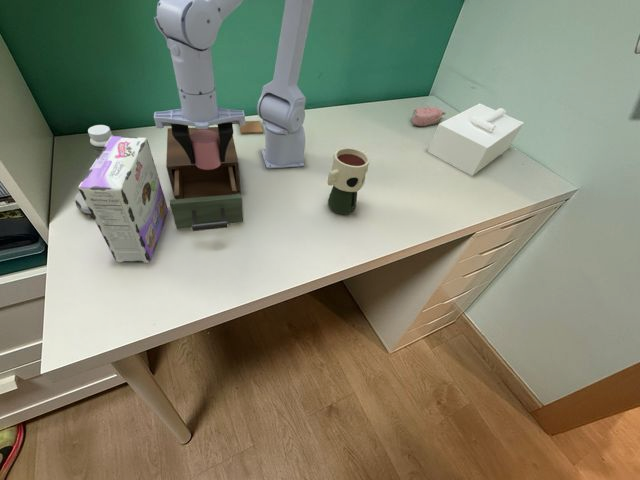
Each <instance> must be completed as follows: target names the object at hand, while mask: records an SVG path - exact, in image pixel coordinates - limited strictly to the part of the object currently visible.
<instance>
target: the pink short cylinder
mask: <svg viewBox="0 0 640 480" xmlns="http://www.w3.org/2000/svg"><path fill="white" fill-rule="evenodd" d="M190 139H191V144H192V150H193V155H194V160H195V165H196V166H197V167H198V168H200V169H204V170H211V169H215V168H217V167H219V166H220V165H221V157H220V146H219V137H218V134H217V133H216V132H214V131H211V130H198V131H195V132H193V133H192V134H191V136H190Z"/></svg>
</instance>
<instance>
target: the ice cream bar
mask: <svg viewBox="0 0 640 480" xmlns="http://www.w3.org/2000/svg"><path fill="white" fill-rule="evenodd" d="M444 115H446V112H445V111H443V110H442V109H441V108H439V107H438V106H426V107H417V108H414V110H413V112H412V116H411V123H412V124H413V126H417V127H425V126H430V125H434V124H435V125H436V124H439V123H440V120H441V119H442V117H443V116H444Z"/></svg>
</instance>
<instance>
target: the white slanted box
mask: <svg viewBox="0 0 640 480" xmlns="http://www.w3.org/2000/svg"><path fill="white" fill-rule="evenodd" d="M524 124H525V122H523V121H522V120H519V119H516V118H514V117H513V116H509V115H507V110H506V109H505V108H503V107H499V108H497V109H494V108H492V107H489V106H487V105H485V104H482V103H480V102H479V103H478V104H477V103H476V104H475V105H474V106H472V107H470V108H467V109H466V110H463V111H462V112H459V113H457V114H456V115H454V116H451V117H450V118H447V119H446V120H444V121H442V122H439V123H438V125H437V127H436V130H435V132H434V135H433V136H432V140H431V142H430V145H429V146H428V150H427V153H428V154H431V155H432V156H434V157H436V158H438V159H440V160H442V161H444V162H445V163H447V164H449V165H451V166H453V167H454V168H456V169H458V170H460V171H462V172H464V173H465V174H467V175H469V176H471V177H473V176H474V175H476V174H477V173H478V172H480V171H481V170H482V169H484V167H486V166H488V165H489V164H490V163H491V162H493V161H494V160H496V159H497V158H498V157H500V156H501V155H502V154H504V153H505V152H506V151H508V150H509V149H510V147H511V145H512V144H513V142H514V140H515V139H516V137H517V135H518V134H519V132H520V130H521V129H522V127H523V126H524Z"/></svg>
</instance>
